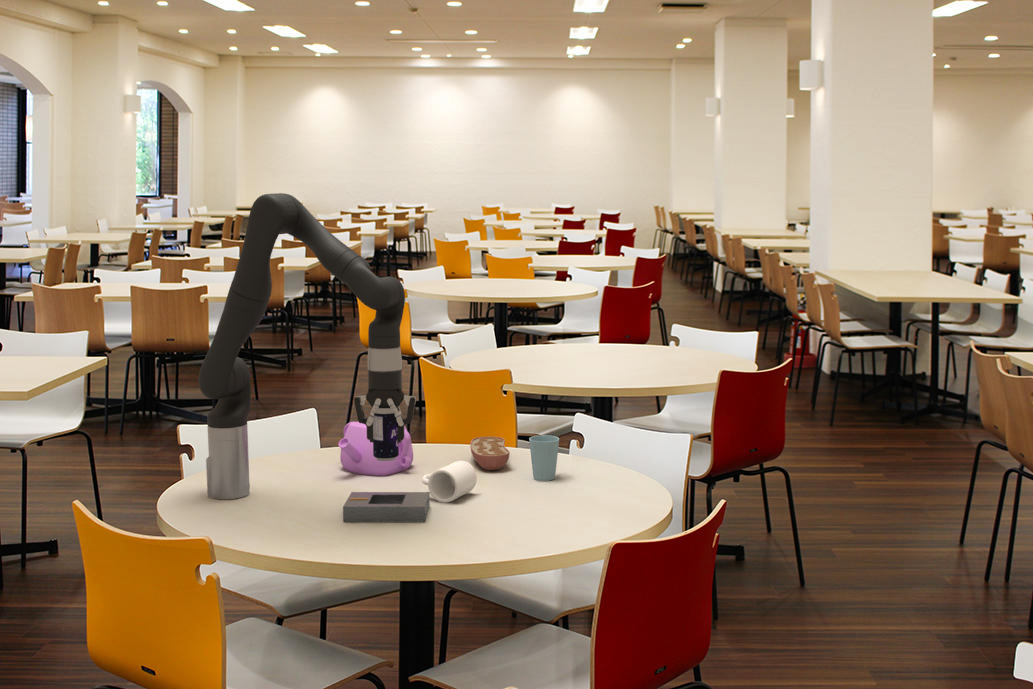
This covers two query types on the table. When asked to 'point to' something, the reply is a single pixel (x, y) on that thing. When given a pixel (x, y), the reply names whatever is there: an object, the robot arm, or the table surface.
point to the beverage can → (385, 435)
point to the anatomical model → (489, 452)
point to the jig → (386, 507)
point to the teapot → (371, 453)
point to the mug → (451, 481)
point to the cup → (544, 456)
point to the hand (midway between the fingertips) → (385, 441)
